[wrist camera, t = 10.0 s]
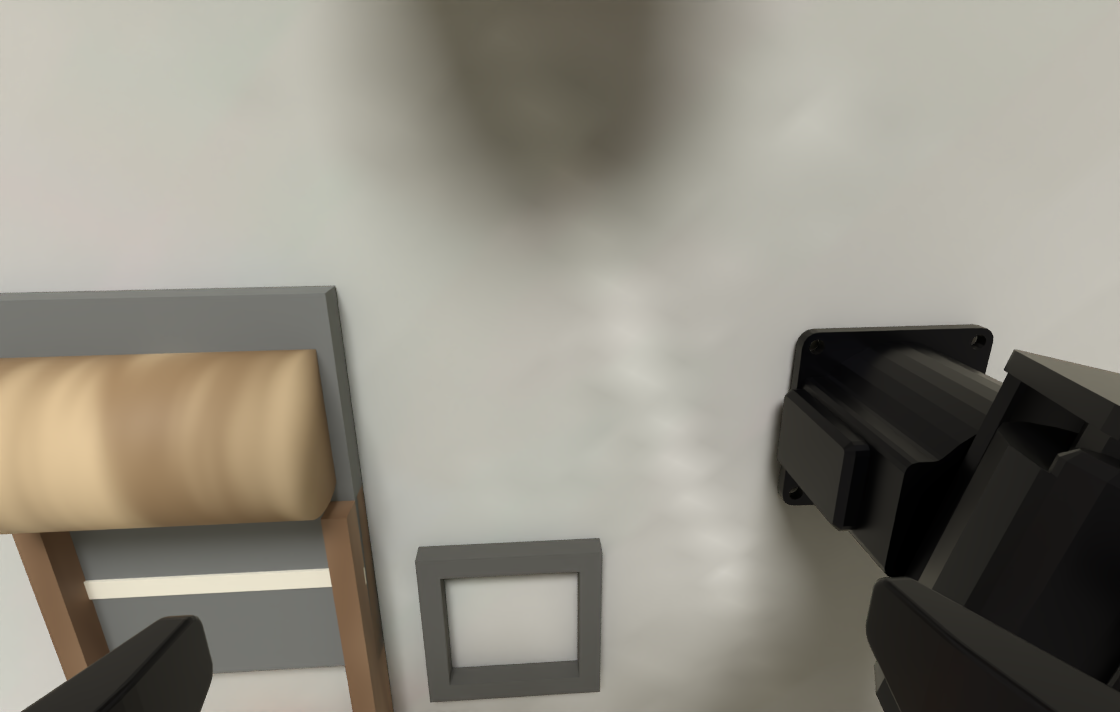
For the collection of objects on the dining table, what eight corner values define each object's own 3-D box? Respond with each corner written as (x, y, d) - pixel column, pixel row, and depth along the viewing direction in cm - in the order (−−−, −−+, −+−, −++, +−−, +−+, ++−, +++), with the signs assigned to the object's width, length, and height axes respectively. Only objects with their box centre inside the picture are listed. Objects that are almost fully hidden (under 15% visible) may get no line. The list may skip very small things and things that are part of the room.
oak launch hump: (330, 328, 19) (268, 387, 14) (349, 464, 21) (300, 557, 16) (37, 335, 19) (-127, 399, 14) (81, 475, 20) (-51, 575, 16)
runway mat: (334, 285, 18) (323, 293, 17) (383, 642, 23) (377, 665, 22) (-9, 293, 18) (-42, 302, 17) (113, 657, 22) (93, 682, 21)
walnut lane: (373, 483, 21) (351, 537, 18) (413, 788, 26) (400, 867, 23) (47, 497, 20) (-31, 555, 17) (153, 807, 25) (106, 891, 22)
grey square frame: (599, 538, 22) (602, 552, 21) (597, 674, 24) (599, 691, 23) (418, 547, 22) (415, 561, 21) (433, 684, 24) (430, 702, 23)
